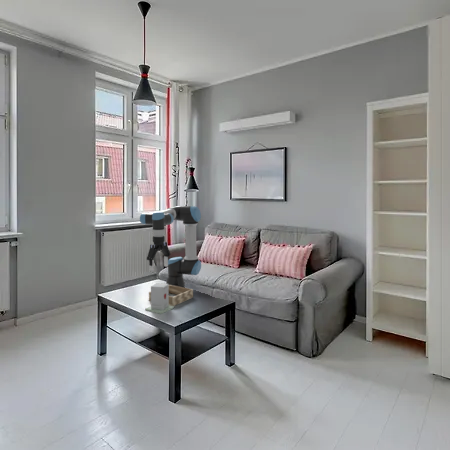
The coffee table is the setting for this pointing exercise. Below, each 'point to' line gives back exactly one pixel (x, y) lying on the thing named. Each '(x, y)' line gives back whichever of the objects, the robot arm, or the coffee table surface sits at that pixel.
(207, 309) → the coffee table surface
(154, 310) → the mat
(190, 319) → the coffee table surface
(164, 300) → the supplement box
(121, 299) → the coffee table surface
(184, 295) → the crate
